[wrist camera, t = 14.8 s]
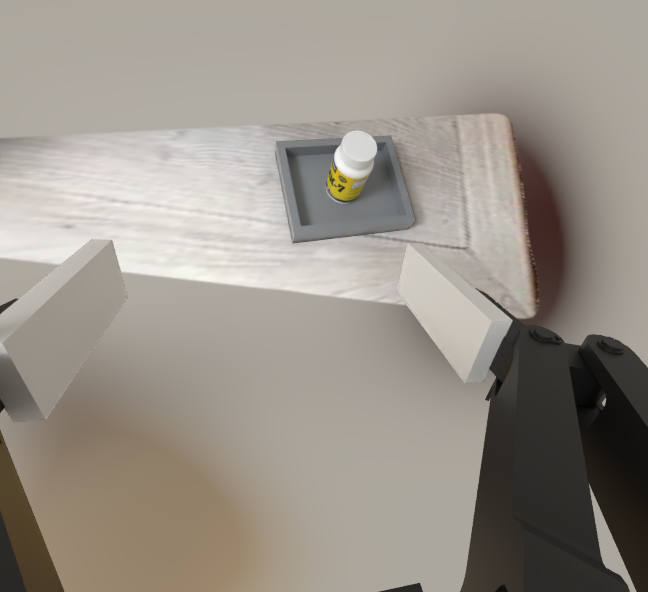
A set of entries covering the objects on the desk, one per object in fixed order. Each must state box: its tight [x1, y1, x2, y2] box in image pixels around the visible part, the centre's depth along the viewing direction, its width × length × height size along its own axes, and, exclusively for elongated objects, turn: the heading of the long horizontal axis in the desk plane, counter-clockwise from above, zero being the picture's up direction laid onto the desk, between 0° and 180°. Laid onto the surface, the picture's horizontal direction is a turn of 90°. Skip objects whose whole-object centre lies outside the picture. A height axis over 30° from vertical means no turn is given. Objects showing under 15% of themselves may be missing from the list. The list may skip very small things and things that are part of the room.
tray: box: [276, 136, 415, 243], centre depth 42 cm, size 16×13×2 cm
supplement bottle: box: [326, 130, 377, 204], centre depth 38 cm, size 5×5×8 cm
